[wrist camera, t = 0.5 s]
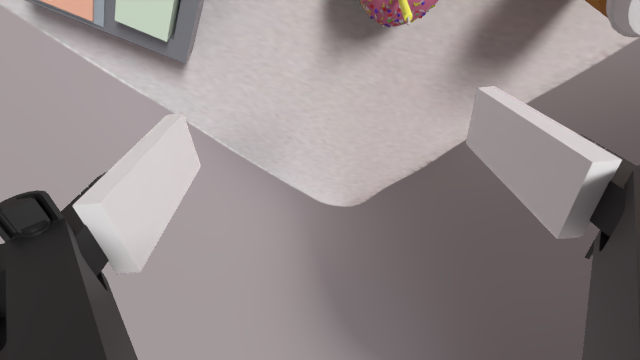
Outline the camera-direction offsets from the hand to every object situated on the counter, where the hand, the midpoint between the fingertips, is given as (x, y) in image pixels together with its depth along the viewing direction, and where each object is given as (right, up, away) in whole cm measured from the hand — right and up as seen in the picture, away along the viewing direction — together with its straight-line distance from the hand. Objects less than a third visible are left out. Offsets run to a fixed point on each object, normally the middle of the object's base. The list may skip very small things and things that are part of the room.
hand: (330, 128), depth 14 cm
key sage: (-16, +15, +15) cm, 27 cm away
